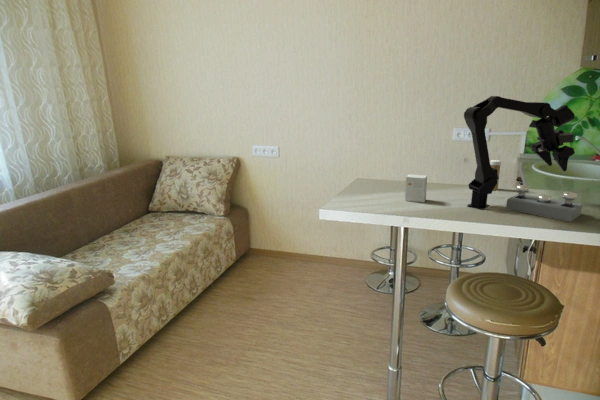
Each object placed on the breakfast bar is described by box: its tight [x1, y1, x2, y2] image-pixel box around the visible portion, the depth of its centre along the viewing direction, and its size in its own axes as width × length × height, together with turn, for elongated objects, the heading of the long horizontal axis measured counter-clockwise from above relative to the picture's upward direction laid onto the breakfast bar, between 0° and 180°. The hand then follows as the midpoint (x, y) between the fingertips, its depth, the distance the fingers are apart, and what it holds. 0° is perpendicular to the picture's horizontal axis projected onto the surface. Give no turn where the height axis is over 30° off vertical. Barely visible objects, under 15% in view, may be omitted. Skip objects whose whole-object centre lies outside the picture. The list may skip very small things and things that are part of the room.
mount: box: [505, 193, 583, 222], centre depth 154 cm, size 12×22×4 cm, turn 43°
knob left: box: [515, 184, 530, 199], centre depth 158 cm, size 4×4×5 cm
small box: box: [404, 173, 428, 203], centre depth 171 cm, size 8×6×10 cm
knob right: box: [562, 191, 578, 207], centre depth 147 cm, size 4×4×5 cm
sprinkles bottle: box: [490, 159, 502, 191], centre depth 187 cm, size 5×5×13 cm
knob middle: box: [537, 194, 552, 203], centre depth 153 cm, size 4×4×5 cm
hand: (557, 168), depth 161 cm, fingers open, 9 cm apart
